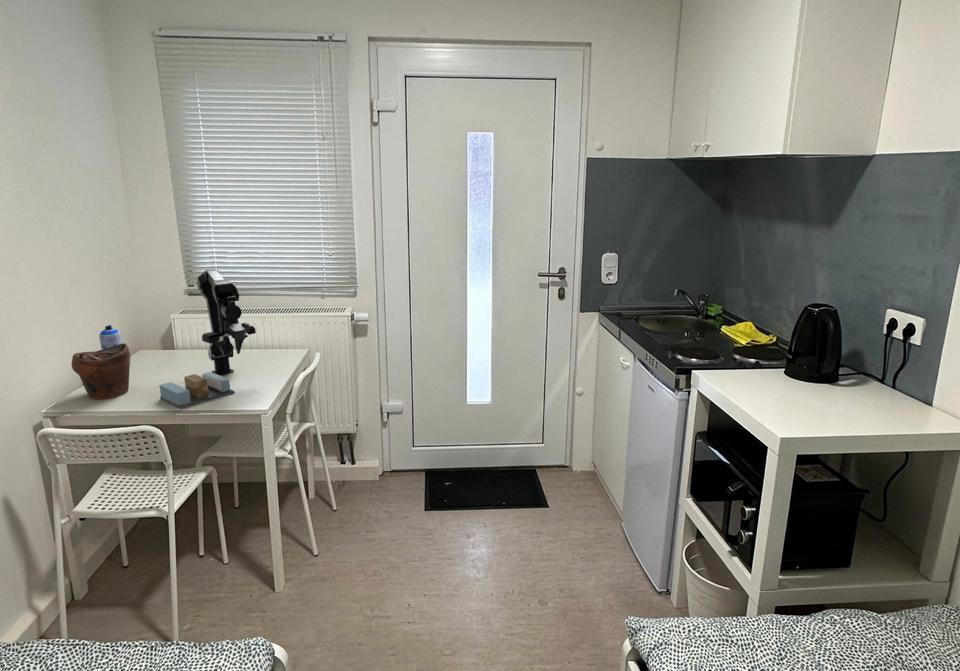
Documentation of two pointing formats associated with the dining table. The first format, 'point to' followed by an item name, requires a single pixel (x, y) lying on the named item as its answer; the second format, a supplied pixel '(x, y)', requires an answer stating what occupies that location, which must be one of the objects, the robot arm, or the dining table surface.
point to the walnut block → (196, 385)
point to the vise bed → (195, 400)
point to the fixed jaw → (175, 393)
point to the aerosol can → (109, 337)
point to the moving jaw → (217, 382)
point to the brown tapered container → (104, 371)
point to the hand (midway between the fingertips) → (231, 355)
